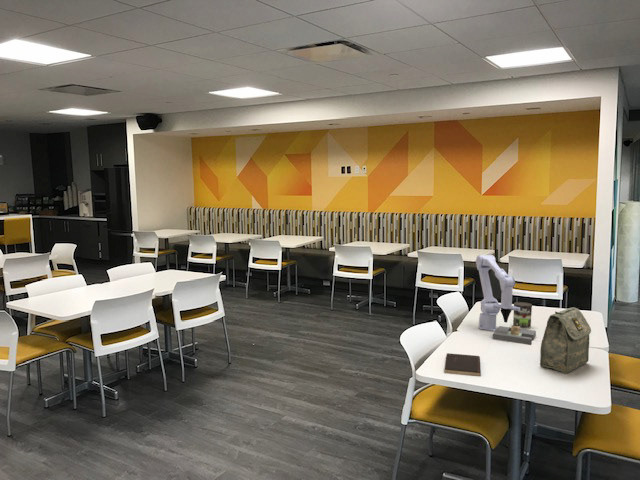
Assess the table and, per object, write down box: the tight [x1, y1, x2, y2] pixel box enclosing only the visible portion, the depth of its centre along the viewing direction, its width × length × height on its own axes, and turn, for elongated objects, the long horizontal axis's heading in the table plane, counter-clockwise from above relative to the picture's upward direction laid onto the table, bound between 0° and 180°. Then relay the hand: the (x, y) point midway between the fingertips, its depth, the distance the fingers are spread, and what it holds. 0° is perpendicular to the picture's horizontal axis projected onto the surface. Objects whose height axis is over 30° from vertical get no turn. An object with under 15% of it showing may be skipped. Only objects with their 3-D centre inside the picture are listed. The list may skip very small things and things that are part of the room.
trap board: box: [492, 325, 537, 346], centre depth 296 cm, size 20×18×3 cm
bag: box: [539, 306, 592, 375], centre depth 251 cm, size 22×16×27 cm
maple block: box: [511, 325, 520, 335], centre depth 292 cm, size 4×4×4 cm
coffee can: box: [512, 301, 533, 330], centre depth 317 cm, size 10×10×14 cm
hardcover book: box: [444, 352, 482, 377], centre depth 252 cm, size 16×23×2 cm
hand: (505, 322), depth 297 cm, fingers closed
